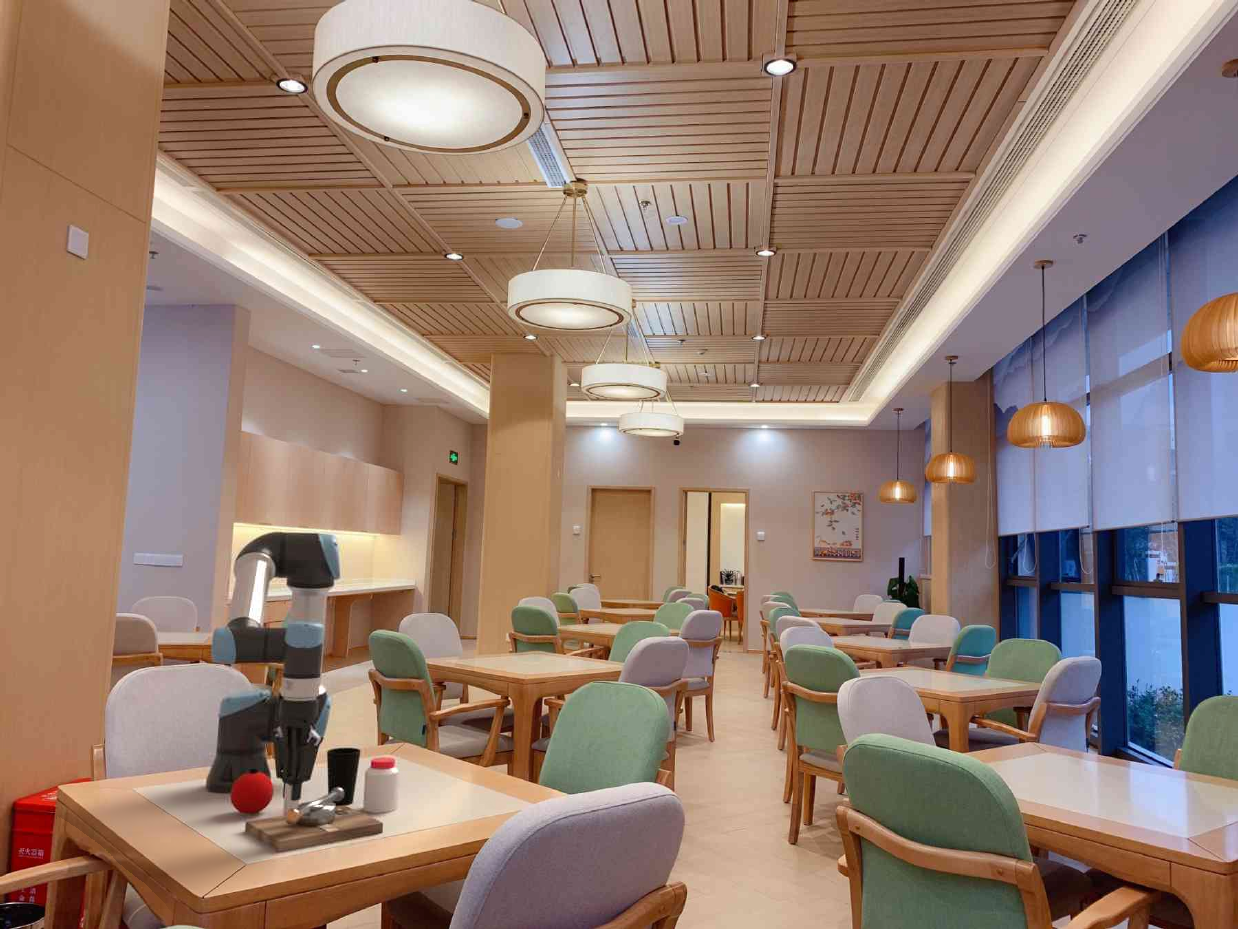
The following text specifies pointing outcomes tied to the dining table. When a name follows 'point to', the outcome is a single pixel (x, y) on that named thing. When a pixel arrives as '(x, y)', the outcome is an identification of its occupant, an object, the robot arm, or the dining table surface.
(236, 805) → the ornament
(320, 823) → the metal ball lever
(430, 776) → the dining table surface
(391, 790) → the pill bottle
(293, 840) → the board
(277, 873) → the dining table surface
